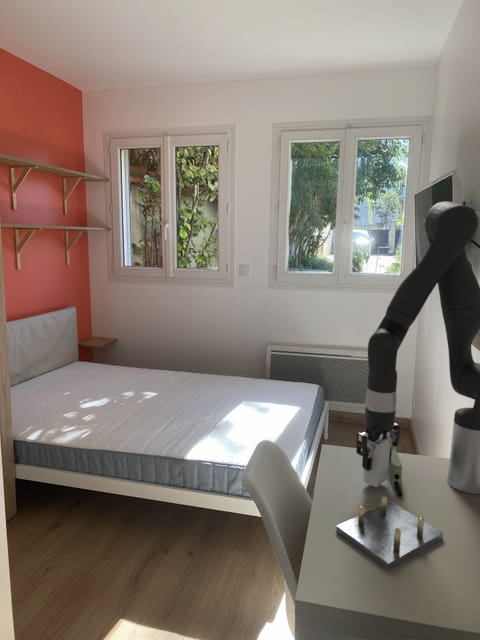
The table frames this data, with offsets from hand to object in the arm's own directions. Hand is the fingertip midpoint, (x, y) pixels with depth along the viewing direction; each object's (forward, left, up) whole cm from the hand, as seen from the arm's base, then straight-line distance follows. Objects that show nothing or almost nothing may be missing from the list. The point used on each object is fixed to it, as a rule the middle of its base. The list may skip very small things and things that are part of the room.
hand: (376, 465), depth 118 cm
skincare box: (0, 0, -5) cm, 5 cm away
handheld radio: (-9, -2, -6) cm, 11 cm away
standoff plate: (+14, +15, -6) cm, 21 cm away
